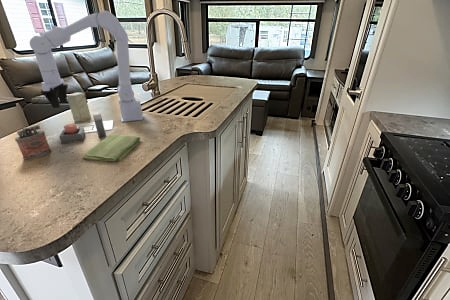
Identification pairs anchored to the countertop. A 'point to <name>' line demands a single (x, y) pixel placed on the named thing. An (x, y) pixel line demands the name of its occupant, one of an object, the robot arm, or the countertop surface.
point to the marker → (99, 125)
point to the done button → (70, 128)
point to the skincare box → (79, 106)
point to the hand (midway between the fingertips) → (60, 104)
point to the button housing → (72, 136)
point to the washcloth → (112, 148)
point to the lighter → (32, 143)
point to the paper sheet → (92, 127)
